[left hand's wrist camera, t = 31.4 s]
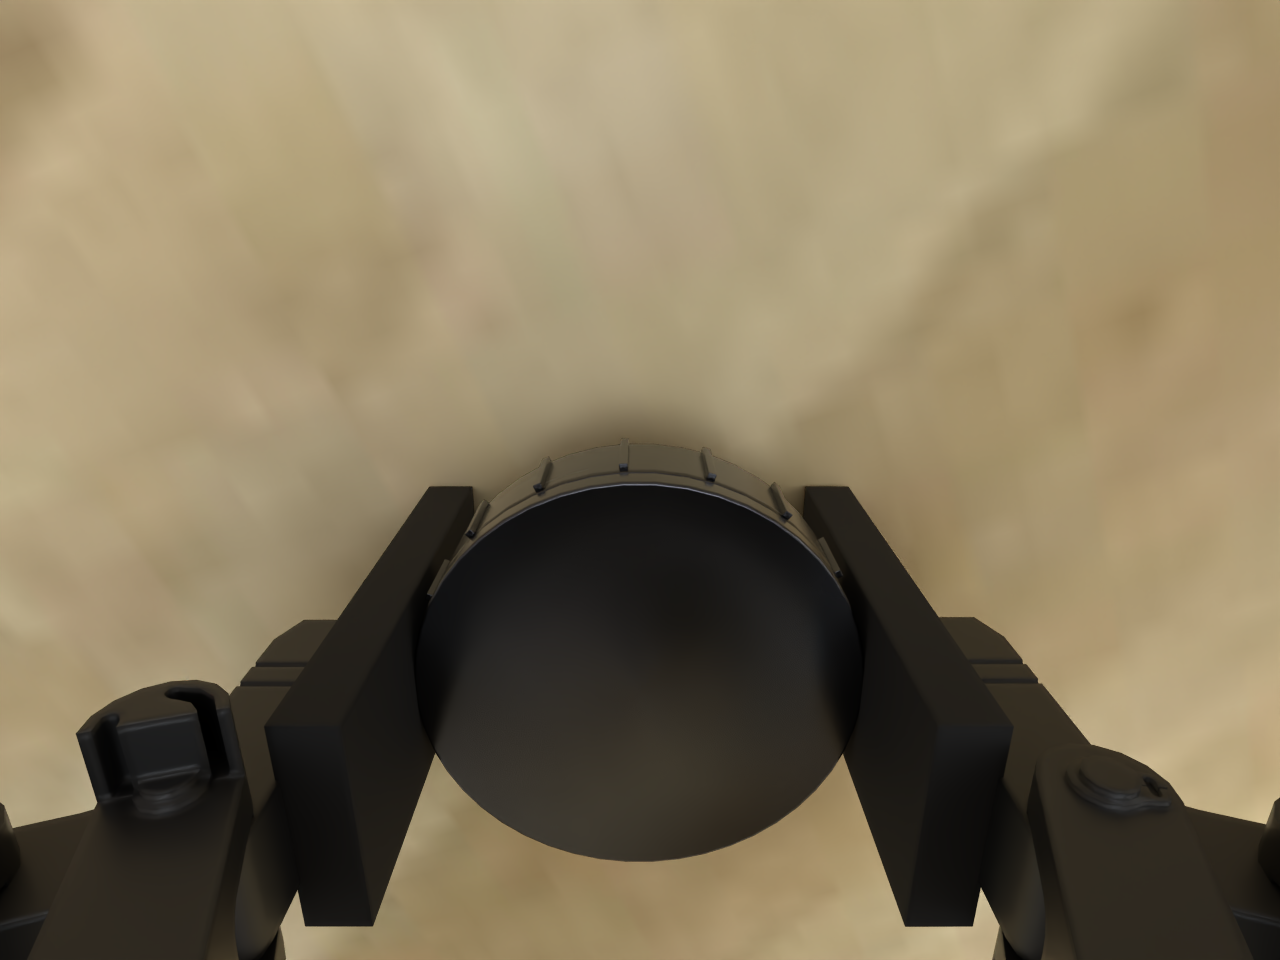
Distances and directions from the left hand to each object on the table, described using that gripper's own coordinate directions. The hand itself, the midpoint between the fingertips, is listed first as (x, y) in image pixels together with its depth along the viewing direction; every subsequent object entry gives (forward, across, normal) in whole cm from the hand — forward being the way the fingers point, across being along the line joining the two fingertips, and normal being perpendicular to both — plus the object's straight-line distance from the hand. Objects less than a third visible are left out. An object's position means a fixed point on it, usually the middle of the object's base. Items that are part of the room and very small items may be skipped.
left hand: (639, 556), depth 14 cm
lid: (-4, 0, 0) cm, 4 cm away
